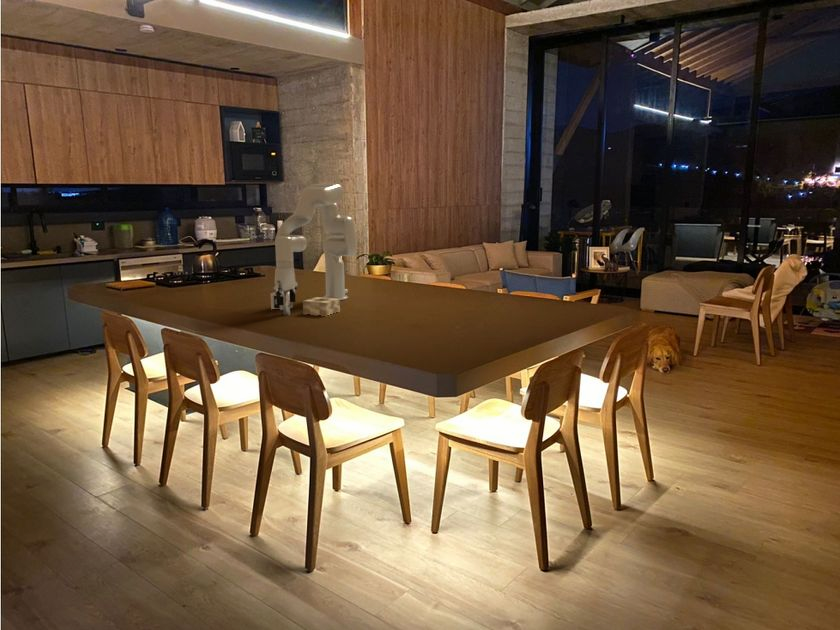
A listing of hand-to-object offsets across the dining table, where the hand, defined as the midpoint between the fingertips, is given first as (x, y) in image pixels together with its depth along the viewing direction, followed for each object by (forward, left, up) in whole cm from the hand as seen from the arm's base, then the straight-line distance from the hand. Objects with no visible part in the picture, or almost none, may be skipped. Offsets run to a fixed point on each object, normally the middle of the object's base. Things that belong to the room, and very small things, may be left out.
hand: (286, 303), depth 283 cm
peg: (0, 0, -5) cm, 5 cm away
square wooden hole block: (-10, +12, -5) cm, 16 cm away
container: (-12, -11, -5) cm, 17 cm away
